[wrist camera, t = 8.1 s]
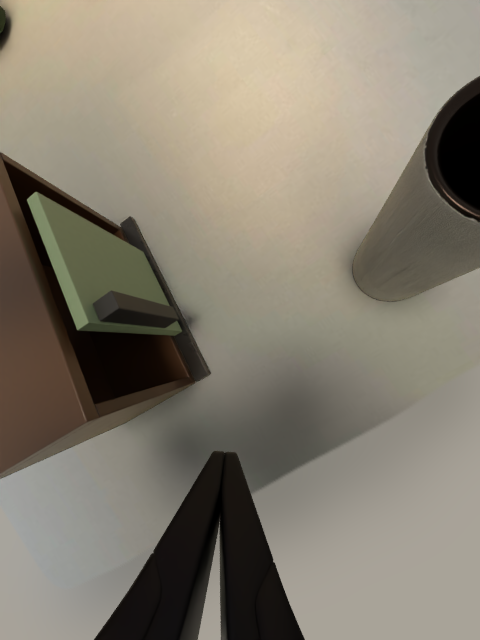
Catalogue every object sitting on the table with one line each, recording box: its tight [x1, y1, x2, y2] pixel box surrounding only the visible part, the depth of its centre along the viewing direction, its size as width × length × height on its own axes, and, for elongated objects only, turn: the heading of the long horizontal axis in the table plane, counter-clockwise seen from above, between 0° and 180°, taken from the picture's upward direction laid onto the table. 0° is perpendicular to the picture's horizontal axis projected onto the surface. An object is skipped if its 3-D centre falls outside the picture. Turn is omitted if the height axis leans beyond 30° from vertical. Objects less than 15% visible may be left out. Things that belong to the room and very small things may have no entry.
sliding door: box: [27, 192, 182, 336], centre depth 15 cm, size 8×2×8 cm, turn 29°
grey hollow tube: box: [353, 76, 480, 301], centre depth 11 cm, size 4×4×10 cm
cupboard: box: [0, 152, 211, 479], centre depth 16 cm, size 15×9×10 cm, turn 29°
